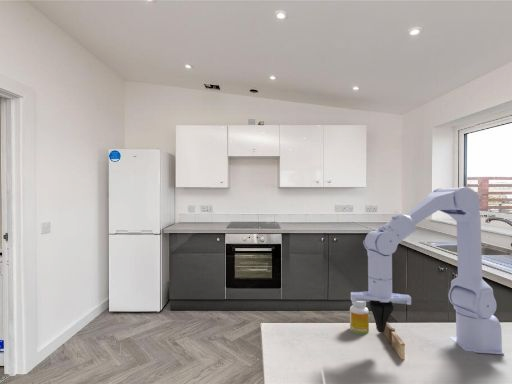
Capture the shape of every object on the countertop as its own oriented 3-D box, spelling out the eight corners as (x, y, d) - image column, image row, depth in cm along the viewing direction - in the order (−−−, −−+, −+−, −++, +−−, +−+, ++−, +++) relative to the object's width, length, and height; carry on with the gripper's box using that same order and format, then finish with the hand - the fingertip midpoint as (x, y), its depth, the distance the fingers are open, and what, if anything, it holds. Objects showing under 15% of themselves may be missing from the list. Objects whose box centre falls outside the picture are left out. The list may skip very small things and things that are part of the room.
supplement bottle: (371, 336, 84) (371, 303, 85) (353, 336, 85) (352, 302, 85) (365, 328, 90) (364, 297, 90) (347, 328, 90) (347, 296, 90)
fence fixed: (385, 333, 87) (385, 317, 87) (396, 347, 78) (395, 330, 78) (380, 333, 87) (380, 317, 87) (389, 347, 78) (389, 330, 78)
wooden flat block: (391, 345, 78) (391, 331, 78) (395, 346, 78) (395, 331, 78) (400, 359, 71) (400, 343, 71) (405, 359, 71) (404, 343, 71)
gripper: (354, 280, 72) (354, 335, 71) (416, 282, 70) (416, 339, 69) (348, 273, 79) (349, 323, 78) (404, 275, 77) (405, 327, 76)
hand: (380, 330), depth 74 cm, fingers closed
